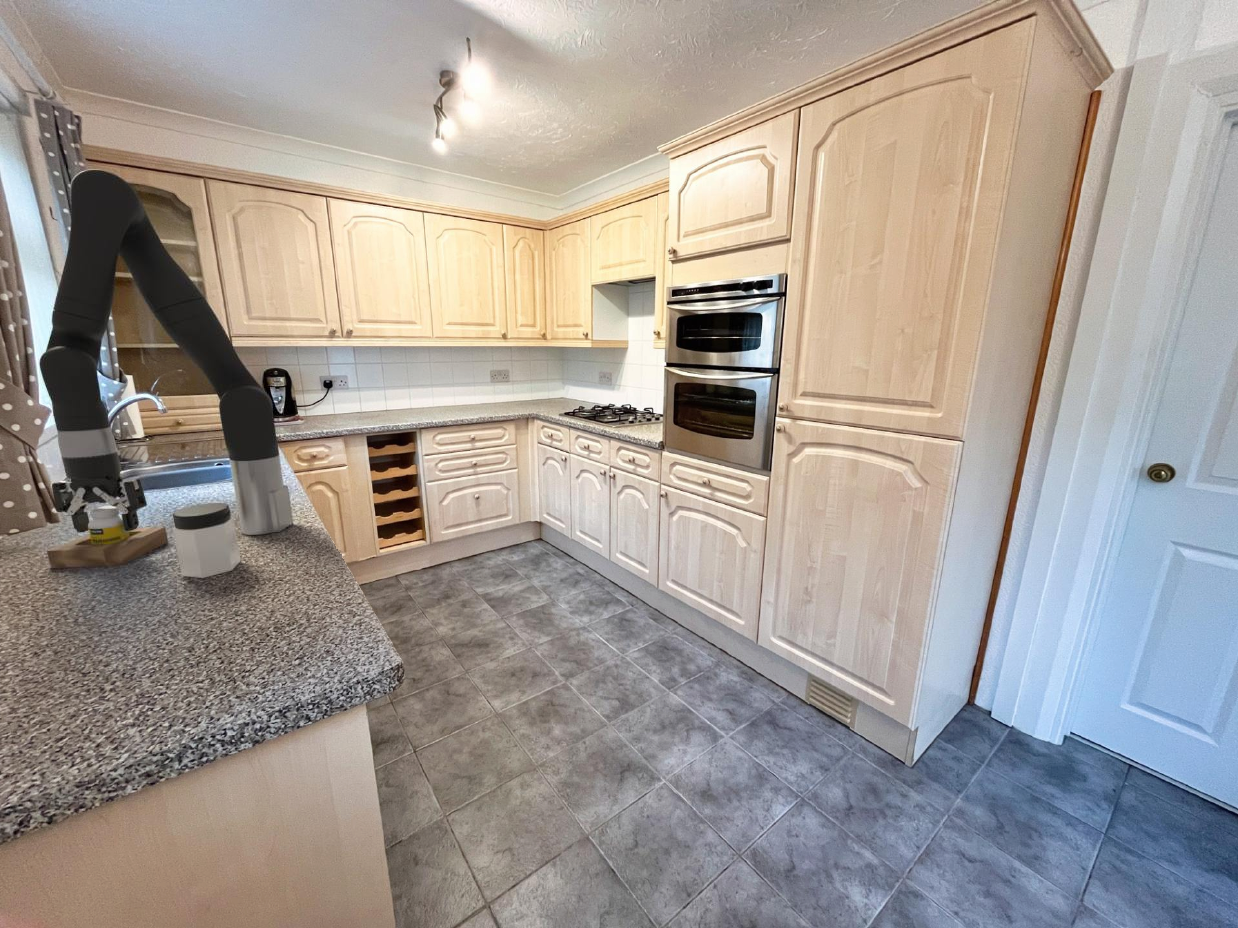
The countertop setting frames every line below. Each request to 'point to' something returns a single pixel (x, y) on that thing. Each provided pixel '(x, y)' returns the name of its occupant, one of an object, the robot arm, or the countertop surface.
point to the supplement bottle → (106, 526)
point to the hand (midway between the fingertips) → (108, 530)
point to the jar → (205, 540)
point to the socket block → (107, 549)
